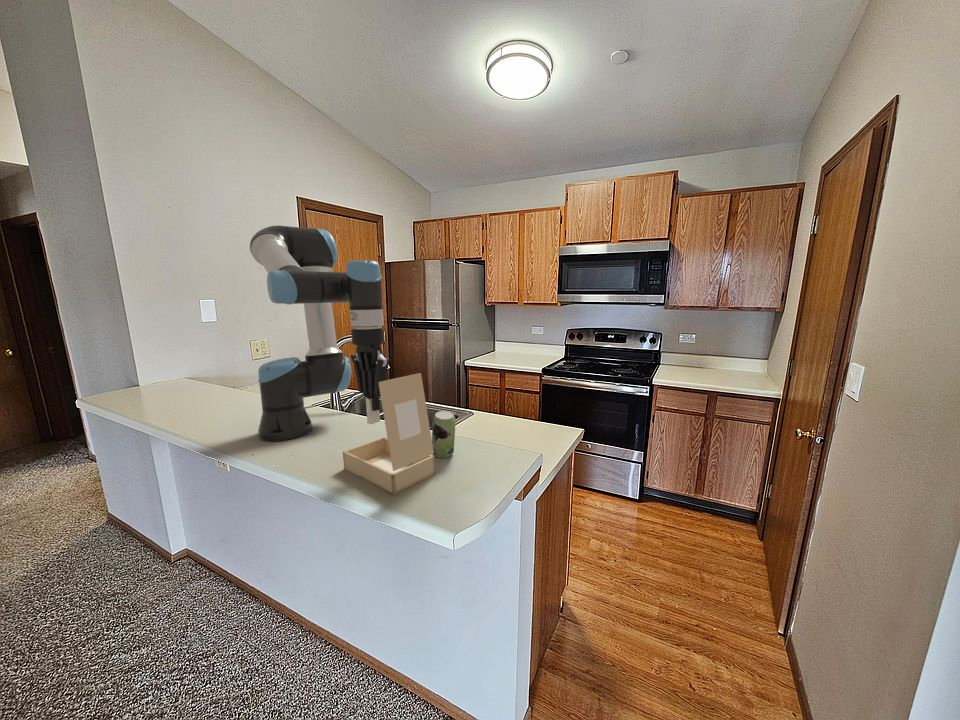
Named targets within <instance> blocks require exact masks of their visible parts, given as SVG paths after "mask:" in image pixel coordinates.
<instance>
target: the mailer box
mask: <svg viewBox="0 0 960 720" xmlns="http://www.w3.org/2000/svg"><path fill="white" fill-rule="evenodd" d="M342 459H343V469H344V470H345V471H347V472H349V473H351V474H353V475H355V476H356V477H359V478H360V479H362V480H365V481H366V482H367V483H370V484H372V485H374V486H375V487H377V488H379V489H381V490H383V491H385V492H387V493H389V494H390V495H393V496H395V495H397V494H399V493H401V492H403V491H405V490H406V489H409V488H410V487H413V486H415V485H417V484H419V483H421V482H423V481H424V480H426V479H428V478H430V477H433V476H435V475H436V456H435V455H434V454H431V455H429V456H427V457H424V458H422V459H420V460H418V461H415V462H413V463H411V464H409V465H406V466H404V467H402V468H400V469H397V470H395V471H393V468H392V462H391V456H390V450H389V444H388V438H387V436H383V437H380V438H378V439H377V438H376V439H374V440H372V441H369V442H365V443H363V444H360V445H358V446H357V445H356V446H354V447H352V448H349V449H346V450H343V451H342Z"/></svg>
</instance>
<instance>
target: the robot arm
mask: <svg viewBox="0 0 960 720" xmlns="http://www.w3.org/2000/svg"><path fill="white" fill-rule="evenodd" d="M249 251H250V253H251V255H252V257H253V259H254V261H256V262H257V263H258V264H259V265H261V266H263V268H264V269H265V271H266V272H267V275H266V285H267V294H268V297H269V299H270V301H271V302H272V303H274V304H276V305H277V304H281V305H282V304H283V305H284V304H286V305H297V304H298V305H300V304H303V310H304V317H305V324H306V333H307V340H308V350H307V352H306V353H305V354H304V358H305V360H304V361H302V360H301V359H300V358H299V357H284V358H279V359H275V360H271V361H268V362H265V363H263V364H262V365H260V366H259V368H258V380H257V381H258V383H259V392H260V400H261V407H262V413H261V418H260V422H259V425H258V430H257V431H258V438H259V439H260V438H261V439H262V440H261V439H260V440H261V441H265V440H267V441H266V442H279V441H280V442H281V441H287V440H293V439H296V438H300V437H303V436H305V435H307V434H309V433H310V432H311V431H312V429H313V423H312V420H311V417H310V415H309V414H308V412H307V410H306V408H305V402H304V399H306V398H309V397H315V396H322V395H328V394H336V393H338V392H339V393H340V392H343V391H345V390H347V389H348V387H349V386H350V382H351V378H352V367H351V361H352V364H353V369H354V373H355V378H356V382H357V387H358V393H360V394H363V397H364V399H365V409H366V421H367V422H366V423H367V424H369V425H373V424H377V423H380V422H381V416H380V415H381V413H380V412H381V411H380V410H381V406H380V404H381V403H380V398H381V395H380V389H379V383H378V382H382V381H386V380H387V376H388V366H389V364H390V362H391V361H390V358H389V357H385V356H384V355H383V350H382V345H383V344H384V343H385V341H386V340H385V330H384V328H383V326H384V325H385V323H384V311H383V310H384V308H383V291H382V274H381V268H380V267H381V266H380V264H379V262H378V261H375V260H361V259H360V260H349V261H348V262H347V263H346V271H345V272H344V271H334V270H333V267H335V266H336V265H337V263H338V250H337V244H336V242H335V239H334V237H333V235H332V234H331V233H330V232H329V231H327V230H326V229H319V228H316V227H315V228H314V227H311V228H310V227H299V226H298V227H297V226H287V225H280V224H279V225H270V226H267V227H263V228H262V229H260V230H258V231H257V232H256V233H255V234H254V235H252V238H251V240H250V242H249ZM334 303H348V304H349V306H348V307H349V318H350V326H351V327H352V330H351V331H350V332H351V344H353V345H354V346H356V350H355V351H356V353H354V354H351V355H350V359H351V361H350V359H349V358H348V357H347V356H345V355H344V352H343V350H341V349H340V348H339V347H338V344H337V335H336V325H335V318H334V310H333V304H334ZM308 432H309V433H308Z"/></svg>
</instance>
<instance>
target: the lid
mask: <svg viewBox="0 0 960 720" xmlns="http://www.w3.org/2000/svg"><path fill="white" fill-rule="evenodd" d="M378 383H379V389H380V395H381V396H380V399H381V407H382V412H383V419H384V424H385V425H384V426H385V430H386V438H388V444H389V450H390V456H391V462H392V468H393V471H395V470H397V469H400V468H402V467H404V466H406V465H409V464H411V463H413V462H415V461H418V460H420V459H422V458H424V457H427V456H429V455H434V454H433V453H434V452H433V445H432V432H431V427H430V421H429V416H428V408H427V402H426V396H425V395H426V394H425V391H424V384H423V378H422V373H421V372H420V373H419V372H418V373H414V374H409V375H404V376H401V377H400V376H399V377H396V378H392V379H386V381H382V382H378Z"/></svg>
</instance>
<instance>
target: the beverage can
mask: <svg viewBox="0 0 960 720" xmlns="http://www.w3.org/2000/svg"><path fill="white" fill-rule="evenodd" d="M456 423H457V421H456V417H455V414H454V413H453V412H451V411H448V410H440V411H436V413H435V414H434V416H433V418H432V425H431V427H432V429H431V439H432V445H433V452H434V453H433V454H432V455H433V456H435V457H437V458H442V459H444V458H449V457H450V456H452V455H453V454H454V452H455V439H456V438H455V436H456V435H455V434H456Z"/></svg>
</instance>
